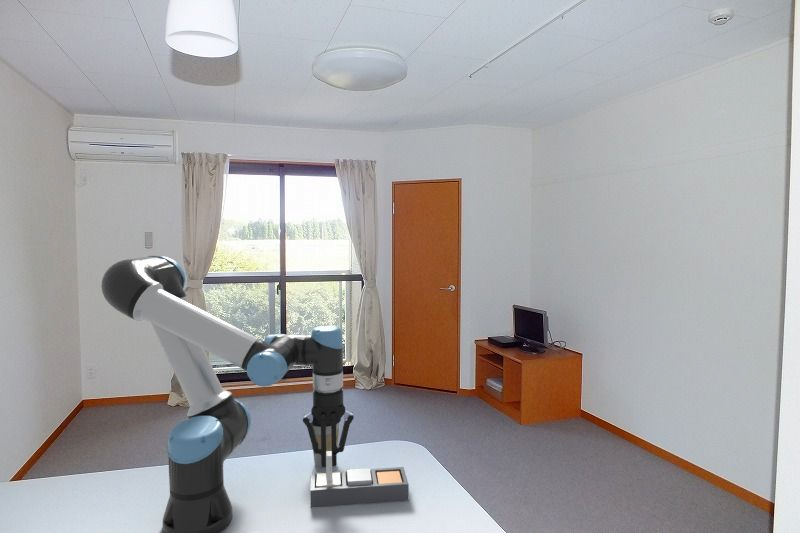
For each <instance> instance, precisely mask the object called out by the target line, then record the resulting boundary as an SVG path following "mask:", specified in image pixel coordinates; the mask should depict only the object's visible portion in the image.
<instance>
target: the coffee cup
mask: <svg viewBox="0 0 800 533" xmlns="http://www.w3.org/2000/svg"><path fill="white" fill-rule="evenodd" d="M341 420H342V418H341V419H340V420H339V422H338V423H337V424H336V446H338V445H339V443H338V442H339V434H340V432H339V431H340V422H341ZM312 423H313V427H314V430H315V434H316V438H317V441H318V445H319V447H321V424H319V423H318V422H317V420H316V419H315V418H314V417H313V421H312ZM311 449H312V453H313V461H314V466H315V467H316V468H320V469H326V467H322V465H321V455H320V454H315V453H314V450H313V447H312V446H311ZM326 451H332V439H331V425H326Z"/></svg>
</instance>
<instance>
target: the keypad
mask: <svg viewBox="0 0 800 533" xmlns="http://www.w3.org/2000/svg"><path fill="white" fill-rule="evenodd" d="M347 470H348V469H347ZM347 470H332V473H336V472H340V481H341V486H338V487H323V488H316V483H317V474H320V473H326V471H316V472H314V471H313V472H311V477H310V478H311V480H310V491H309V492H310V494H309V495H310V500H309V501H310V509H313V508H314V509H315V508H326V507H342V506H355V505H357V506H358V505H370V504H383V503H385V504H386V503H399V502H409V490H410V487H409V485H410V484H409V481H408V478H407V474H406V471H405V467H404V466H395V467H381V468H380V467H379V468H370V472H371V479H372V484H369V485H354V486H348V484H347ZM389 471H399V472H400V476H401V480H402V482H400V483H385V484H377V472H389Z"/></svg>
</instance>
